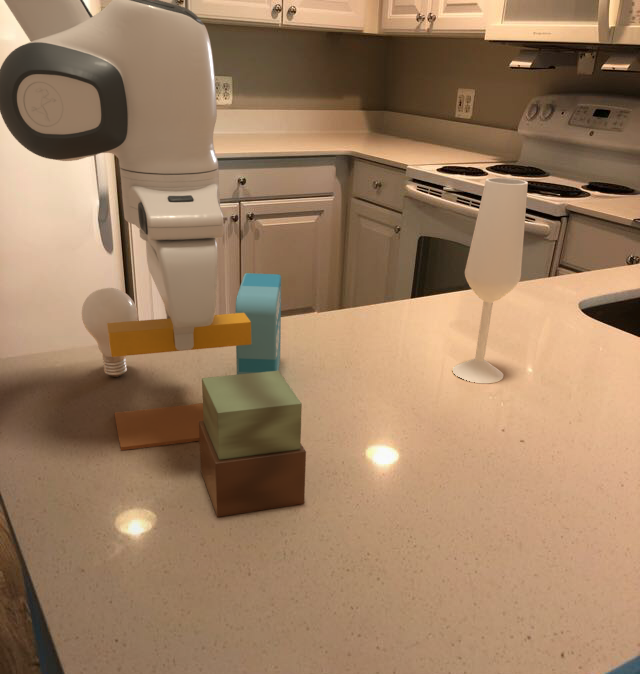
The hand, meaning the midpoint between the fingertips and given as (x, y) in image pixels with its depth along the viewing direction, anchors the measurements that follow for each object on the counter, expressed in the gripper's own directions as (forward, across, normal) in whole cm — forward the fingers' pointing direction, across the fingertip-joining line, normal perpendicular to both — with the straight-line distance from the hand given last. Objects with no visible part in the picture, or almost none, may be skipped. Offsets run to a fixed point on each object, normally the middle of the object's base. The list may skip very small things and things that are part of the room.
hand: (180, 340), depth 72 cm
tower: (+10, +14, +4) cm, 17 cm away
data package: (+10, -10, +11) cm, 18 cm away
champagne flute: (+10, -5, +39) cm, 41 cm away
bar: (+1, 0, 0) cm, 1 cm away
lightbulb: (+10, -15, -6) cm, 19 cm away
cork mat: (+10, 0, 0) cm, 10 cm away
